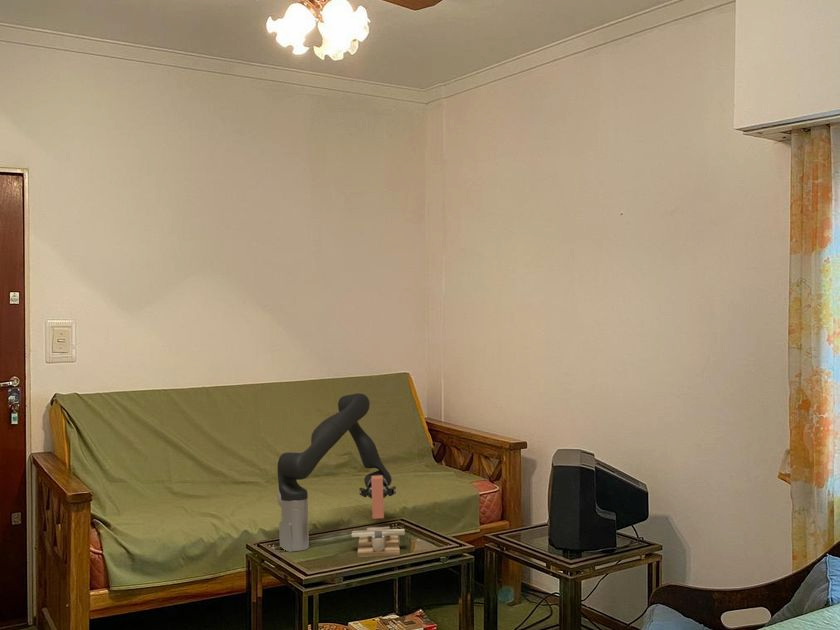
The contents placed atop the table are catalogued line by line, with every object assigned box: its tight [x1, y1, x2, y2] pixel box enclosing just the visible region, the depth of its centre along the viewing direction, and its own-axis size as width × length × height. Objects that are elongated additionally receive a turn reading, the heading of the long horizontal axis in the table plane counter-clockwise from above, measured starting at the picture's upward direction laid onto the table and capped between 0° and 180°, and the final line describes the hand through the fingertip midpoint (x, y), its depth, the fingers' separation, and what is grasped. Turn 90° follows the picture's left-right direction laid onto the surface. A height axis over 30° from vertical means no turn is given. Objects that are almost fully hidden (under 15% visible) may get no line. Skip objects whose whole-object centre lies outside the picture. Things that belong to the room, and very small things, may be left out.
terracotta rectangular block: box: [371, 475, 385, 520], centre depth 304 cm, size 7×4×14 cm, turn 3°
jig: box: [351, 526, 406, 558], centre depth 295 cm, size 28×18×7 cm, turn 3°
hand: (377, 495), depth 301 cm, fingers closed on terracotta rectangular block, 4 cm apart
